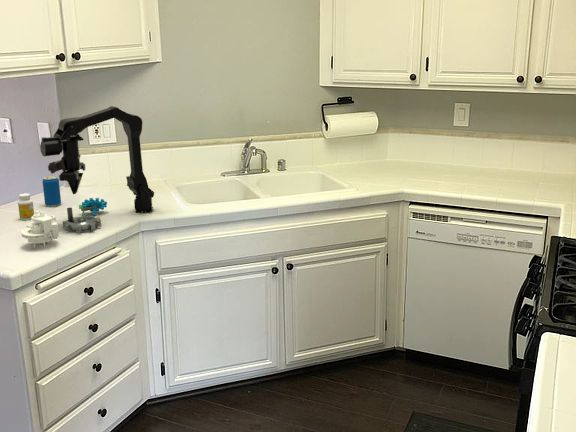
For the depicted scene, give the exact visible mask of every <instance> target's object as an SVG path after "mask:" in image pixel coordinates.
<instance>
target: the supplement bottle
mask: <svg viewBox="0 0 576 432" xmlns="http://www.w3.org/2000/svg"><path fill="white" fill-rule="evenodd" d="M18 199H19V200H18V201H17V205H18V212H19V220H22V221H30V220H31V217H32V216H33V215H34V214H35V210H34V201H33V199H32V198H31V194H30V193H21V194H18ZM31 221H32V220H31Z"/></svg>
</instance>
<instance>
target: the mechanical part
mask: <svg viewBox="0 0 576 432" xmlns="http://www.w3.org/2000/svg"><path fill="white" fill-rule="evenodd" d="M59 232H60V231H59V224H58V222H57V217H56V215H47V213H46V212H45V211H41V210H39V209H38V210H36V211H35V210H34V215H33V216H32V217H31V221H30V222H27V223H26V228H24V229H22V230H21V233H20V234H21V237H22V238H24V239H27V242H29V244H31V246H33V248H36V244H42V245H43V247H45V248H46V243H47V245H48V244H50V242H49V241H50V240H55V239H56V240H57V239H58V238H59V235H60V234H59Z"/></svg>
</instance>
